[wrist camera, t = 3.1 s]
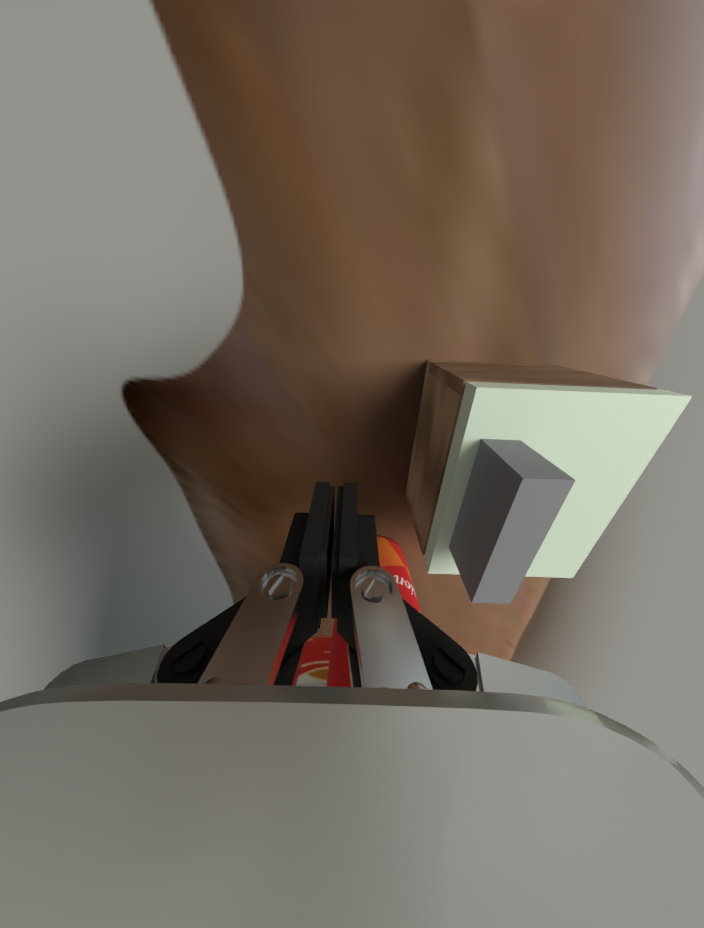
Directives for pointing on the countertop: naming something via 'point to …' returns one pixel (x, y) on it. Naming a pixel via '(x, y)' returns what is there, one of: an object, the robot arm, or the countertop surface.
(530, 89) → the countertop surface
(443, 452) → the keepsake box
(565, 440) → the lid
